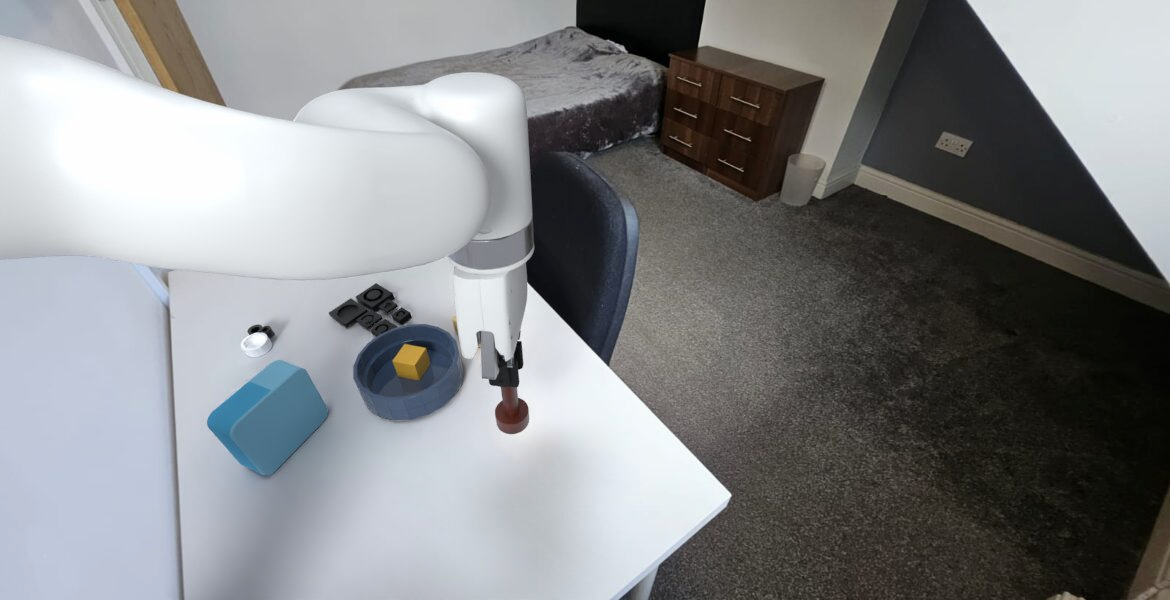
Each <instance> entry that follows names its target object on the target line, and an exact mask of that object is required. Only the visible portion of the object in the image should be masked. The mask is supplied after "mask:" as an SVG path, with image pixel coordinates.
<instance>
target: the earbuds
mask: <svg viewBox="0 0 1170 600" xmlns="http://www.w3.org/2000/svg"><path fill="white" fill-rule="evenodd" d="M395 298H396V297H395V295H394V293H393V292H392V291H390V290H389V289H387V288H385V287H384V286H382V285H380V284H379V283H376V282H375V283H374V284H373V285H371V286H369V287H368V288H367V289H365V290H363V291H362V292H360V293H359V294H357V295H355V299H356V300H354V299H353V298H351V297H350V298H349V299H347V300H345V301H344V302H342V303H341V304H339V305H338V306H337V307H335V308H333V309H332V310H330V311H329V312H328V315H329V317H331V318H332V319H333V320H335V321H336V322H338V323H339V324H341V325H342V326H344V328H349V327H350V326H352V325H353V324H355V323H358V324H359V325H360V326H362V327H363V328H365V329H366V330H370V332H371V334H372V335H373V336H374V337H375V338H376V337H377V336H378V335H380V334H382V333H384V332H386V331H389V330H391V329H393V328H396V327H398V325H396V324H394V322H395V323H397V324H399V325H400V326H404V325H405V324H406V323H407V322H408V321H410V320H411V319H412V318H413V316H412V314H411V311H409V310H408V309H405V308H404V307H402V306H401V307H400V308H398V307H399V305H398V303H396V302H395V301H394V300H395ZM397 308H398V309H397ZM395 309H397V310H396V311H394V310H395ZM379 310H380V311H381V312H384V313H385V314H386V315H388V314H390V313H391V312H393V311H394V312H393V313H392V314H390V315H391V318H392V320H393V321H394V322H391V321H390V320H388V319H387V318H384V317H383V316H382V315H381V314H379V313H378V312H379ZM246 332H247V334H248V335H247V336H246V337H244V338H243V339H242V341H241V342H240V348H241V350H242V352H244V353H245V354H246V356H247V357H249V358H259V357H262V356H264V355H266V354H267V353H268V352H269V351H270V350H271V349H272V347H273V342H272V341H271V339H272V338H273V337H274V336H275V332H274V330H273V329H272V327H271V326H270V325H264V326H262V324H259V323H258V324H254V325H251V326H250V327H249V328H247V331H246Z"/></svg>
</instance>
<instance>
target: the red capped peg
mask: <svg viewBox="0 0 1170 600" xmlns="http://www.w3.org/2000/svg"><path fill="white" fill-rule="evenodd" d="M497 354H500V353H499V352H498V351H497ZM500 355H501V354H500ZM500 391H501V392H500V393H501V399H502V400H500V402H499V403H498V404H497V405H496V406H495V409H494V417H495V423H496V427H497V428H498V429H499V431H501V432H502V433H504V434H507V435H516V434H519V433H521V432H523V431H524V430H526V429H527V427H528V425H529V423H530V410H529V409H530V407H529V405H528V403H527V402H526V401H525V400H524V399H522V398H520V397H519V393H518V387H500Z"/></svg>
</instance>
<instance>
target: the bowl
mask: <svg viewBox="0 0 1170 600" xmlns="http://www.w3.org/2000/svg"><path fill="white" fill-rule="evenodd" d="M404 344H408V345H413V346H418V347H423V348H426V350H427V353H428V356H429V360H430V365H429V367H428V368H427V370H426V372H425V373H424V375H423V376H422V378H421V380H420V381H418V380H413V379H408V378H403V377H398V375H397V372H396V369H395V367H394V364H393V359H394V358H395V357H396V355H397V354H398V352H399V351H400V350H401V348H402V347H403V345H404ZM463 367H464V366H463V364H462V358H461V353H460V349H459V346H458V342H457V340H456V339H455V338H454V337H453V335H452V334H451V333H450V332H449V331H447V330H445V329H443V328H441V327H440V326H436V325H431V324H427V323H411V324H410V323H409V324H404V325H400V326H397V327H396V328H393V329H391V330H389V331H386V332H384V333H382V334H380V335H378V336H377V337H376V336H375V337H374V338H372V339H371V340H370V341H368V342H367V343H366V344H365V346H364V347H363V348H362V349H361V350H360V351H359V353H358V354H357V356H356V358H355V360H354V363H353V365H352V378H353V382H354V383H355V385H356V387H357V390H358V391H359V394H360V396H361V398H362V401H363V402H364V403H365V406H366V407H367V409H368V410H369V411H371V412H372V413H373V414H375V415H377V416H378V417H380V418H383V419H387V420H390V421H413V420H416V419H419V418H423V417H427V416H428V415H431V414H432V413H434V412H436V411H437V410H440V409H441V408H444V407H445V405H447V403H449V402H450V401H451V400H452V399H453V398H454V397H455V396H456V394H457V392H458V390H460V387H461V386H462V383H463V378H464V368H463Z"/></svg>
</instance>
